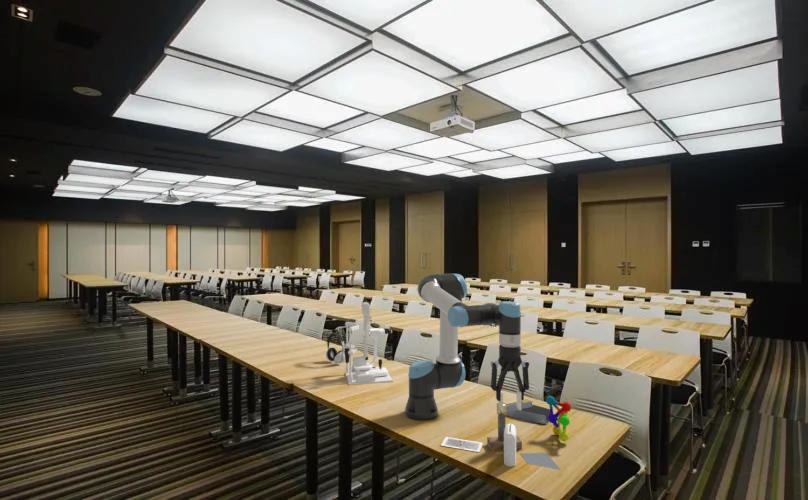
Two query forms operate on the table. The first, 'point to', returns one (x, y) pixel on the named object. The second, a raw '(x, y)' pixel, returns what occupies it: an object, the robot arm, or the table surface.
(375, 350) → the white slit lamp
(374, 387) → the table surface
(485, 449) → the table surface
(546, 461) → the mat
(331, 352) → the headphones
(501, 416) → the post stand
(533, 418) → the external hard drive
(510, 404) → the lever
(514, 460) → the white upright block
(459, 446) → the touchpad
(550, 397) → the molecular model
